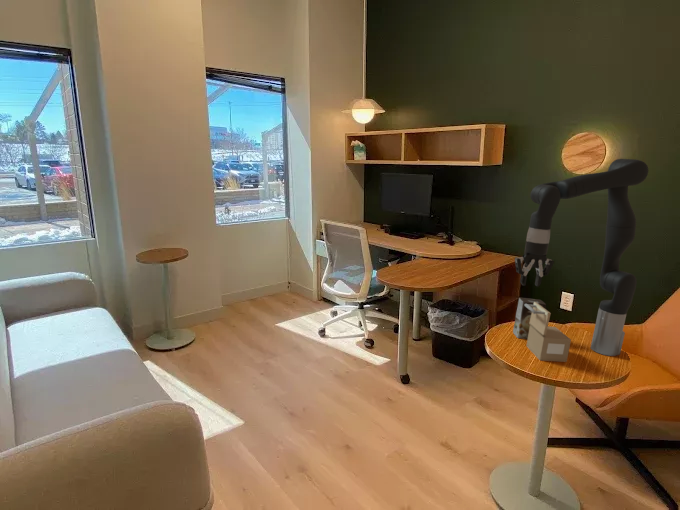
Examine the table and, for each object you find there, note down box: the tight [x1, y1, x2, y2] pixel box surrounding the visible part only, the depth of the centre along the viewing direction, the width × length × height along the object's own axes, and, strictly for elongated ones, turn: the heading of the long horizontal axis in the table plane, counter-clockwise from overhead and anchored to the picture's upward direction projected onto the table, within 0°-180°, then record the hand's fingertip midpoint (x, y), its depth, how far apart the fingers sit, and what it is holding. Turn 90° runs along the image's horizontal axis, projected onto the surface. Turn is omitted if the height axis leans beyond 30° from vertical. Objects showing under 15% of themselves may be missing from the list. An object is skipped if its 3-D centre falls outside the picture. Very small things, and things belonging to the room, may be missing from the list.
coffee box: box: [512, 296, 547, 340], centre depth 175 cm, size 9×6×16 cm
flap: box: [524, 302, 552, 337], centre depth 158 cm, size 10×12×5 cm
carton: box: [526, 325, 572, 363], centre depth 160 cm, size 10×12×9 cm
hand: (530, 285), depth 155 cm, fingers open, 4 cm apart
